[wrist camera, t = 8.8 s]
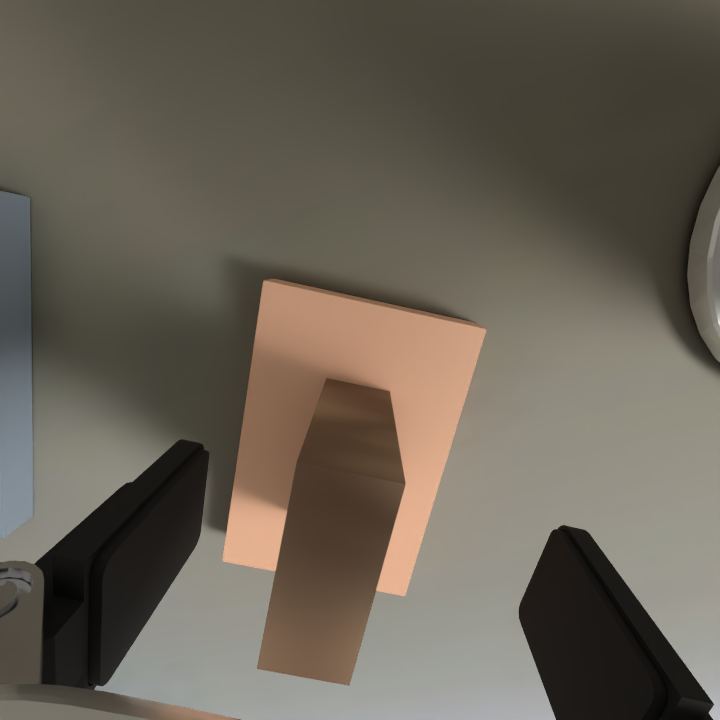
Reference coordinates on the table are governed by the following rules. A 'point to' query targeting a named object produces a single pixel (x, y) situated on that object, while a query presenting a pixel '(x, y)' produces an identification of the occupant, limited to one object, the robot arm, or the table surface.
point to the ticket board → (15, 363)
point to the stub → (341, 462)
